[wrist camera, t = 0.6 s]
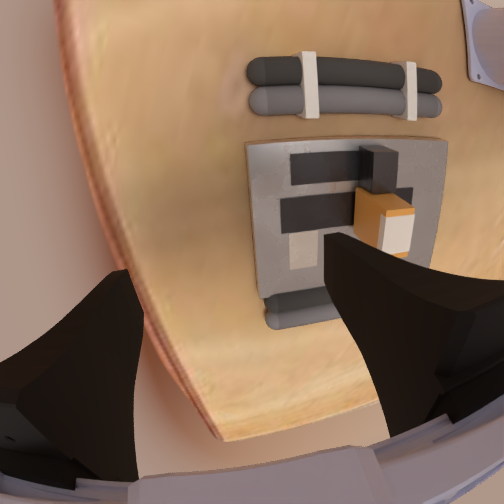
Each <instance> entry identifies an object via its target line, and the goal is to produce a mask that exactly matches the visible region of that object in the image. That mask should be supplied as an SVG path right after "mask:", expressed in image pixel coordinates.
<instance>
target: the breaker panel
mask: <svg viewBox="0 0 504 504" xmlns="http://www.w3.org/2000/svg"><path fill="white" fill-rule="evenodd" d="M245 151H246V163H247V175H248V187H249V198H250V210H251V222H252V234H253V246H254V257H255V269H256V281H257V291H258V294H259V298H260V299H262V298H269V297H271V296H272V295H275V294H281V293H287V292H293V291H299V290H305V289H311V288H317V287H323V286H325V283H324V234H330V233H336V232H341V233H344V234H346V235H349V236H351V237H353V238H356V239H358V240H360V239H359V238H358V237H357V236H356V235H355V234H354V232H353V228H354V213H355V194H356V188H359V187H363V188H364V189H366V190H367V191H369V192H370V193H371V194H377V193H391V192H392V193H394V194H395V195H397V196H398V197H400V198H401V199H403V200H404V201H406V202H407V203H409V204H410V205H412V206H413V207H415V212H414V214H415V218H414V224H413V231H412V237H411V243H410V249H409V251H408V256H407V257H402V258H400V259H403V260H405V261H408V262H411V263H413V264H417V265H420V266H423V267H426V268H429V266H430V262H431V257H432V253H433V248H434V243H435V238H436V233H437V227H438V222H439V216H440V210H441V203H442V197H443V189H444V181H445V172H446V163H447V151H448V141H445V140H442V139H439V138H426V137H403V136H331V137H307V138H290V139H276V140H263V141H252V142H245ZM360 241H361V240H360Z"/></svg>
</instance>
